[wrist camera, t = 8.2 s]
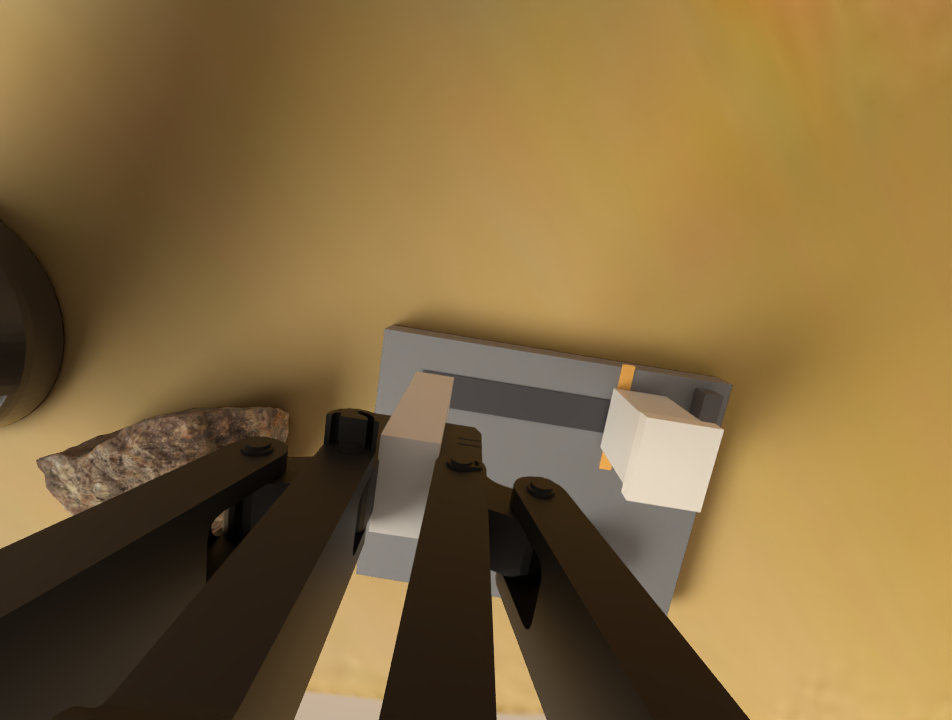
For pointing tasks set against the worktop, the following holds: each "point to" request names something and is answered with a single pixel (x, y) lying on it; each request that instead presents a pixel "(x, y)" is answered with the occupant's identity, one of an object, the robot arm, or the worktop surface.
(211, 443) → the rock
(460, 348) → the console
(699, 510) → the fader tab
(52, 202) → the worktop surface
